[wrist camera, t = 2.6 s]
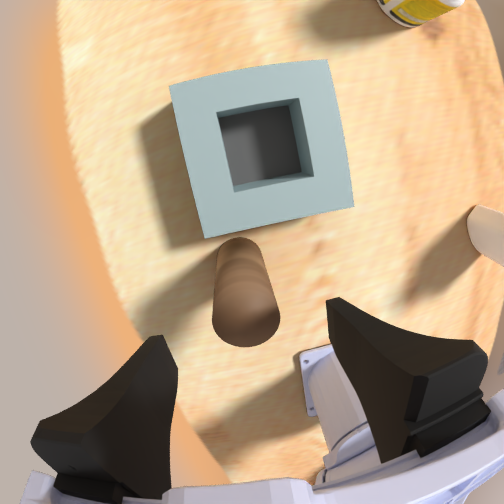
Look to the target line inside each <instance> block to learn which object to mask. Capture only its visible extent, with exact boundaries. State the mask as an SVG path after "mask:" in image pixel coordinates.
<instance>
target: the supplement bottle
mask: <svg viewBox="0 0 504 504" xmlns="http://www.w3.org/2000/svg"><path fill="white" fill-rule="evenodd" d="M464 1H465V0H377V2H378V4H379V6H380V7H381V9H382V10H383V11H384V12H385V13H386V14H387V15H388V16H389V17H390V18H391V19H392V20H394V21H395V22H397V23H398V24H400V25H403V26H406V27H417V26H420V25H422V24H424V23H426V22H428V21H430V20H432V19H434V18H436V17H438V16H440V15H442V14H444V13H446V12H448V11H451V10H453V9H455V8H457V7H459V6H461V5H462V4H463V3H464Z"/></svg>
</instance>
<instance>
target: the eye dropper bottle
mask: <svg viewBox="0 0 504 504" xmlns="http://www.w3.org/2000/svg"><path fill="white" fill-rule="evenodd" d="M467 228H468V233H469V237H470V239H471V242H472V244H473V245H474V247H475V248H476V249H477V250H478V251H479V252H480V253H481V254H483V255H484V256H486V257H488V258H490V259H491V260H493V261H495V262H497V263H498V264H500V265H502V266H503V267H504V213H502V212H499V211H497V210H494V209H491V208H489V207H486V206H483V205H476V206H475V208H474V209H473V210H472V212H471V213H470V214H469V216H468V218H467Z"/></svg>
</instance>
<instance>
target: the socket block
mask: <svg viewBox="0 0 504 504" xmlns="http://www.w3.org/2000/svg"><path fill="white" fill-rule="evenodd" d="M169 89H170V94H171V99H172V103H173V108H174V113H175V118H176V122H177V127H178V131H179V136H180V140H181V145H182V149H183V153H184V158H185V162H186V166H187V170H188V174H189V179H190V183H191V187H192V191H193V195H194V199H195V203H196V207H197V211H198V215H199V218H200V222H201V226H202V230H203V234H204V238H205V239H206V238H210V237H215V236H219V235H223V234H228V233H232V232H237V231H241V230H246V229H250V228H255V227H259V226H264V225H269V224H273V223H278V222H283V221H287V220H292V219H297V218H302V217H306V216H311V215H316V214H321V213H326V212H331V211H336V210H341V209H346V208H351V207H354V201H353V193H352V185H351V177H350V170H349V164H348V157H347V151H346V145H345V139H344V134H343V128H342V123H341V118H340V113H339V108H338V103H337V98H336V94H335V89H334V85H333V81H332V77H331V72H330V68H329V64H328V61H327V60H311V61H299V62H289V63H280V64H272V65H264V66H258V67H251V68H245V69H240V70H234V71H229V72H224V73H219V74H214V75H210V76H205V77H201V78H197V79H193V80H189V81H185V82H181V83H178V84H174V85H171V86H169Z"/></svg>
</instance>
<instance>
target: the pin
mask: <svg viewBox="0 0 504 504" xmlns="http://www.w3.org/2000/svg"><path fill="white" fill-rule="evenodd" d="M279 323H280V312H279V309H278V306H277V302H276V299H275V296H274V293H273V289H272V286H271V283H270V280H269V276H268V273H267V270H266V267H265V263H264V260H263V257H262V254H261V251H260V249H259V247H258V246H257V244H256V243H254V242H253V241H252V240H250V239H247V238H242V237H237V238H233V239H230V240H228V241H226V242H225V243H224V244H223V245H222V246H221V247H220V249H219V251H218V255H217V264H216V276H215V288H214V301H213V315H212V324H213V328H214V330H215V332H216V334H217V335H218V336H219V337H220V338H221V339H222V340H223V341H225V342H227V343H228V344H231V345H234V346H238V347H252V346H256V345H259V344H262V343H264V342H266V341H267V340H268V339H270V338H271V337H272V336H273V335H274V334H275V332H276V331H277V329H278V326H279Z"/></svg>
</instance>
